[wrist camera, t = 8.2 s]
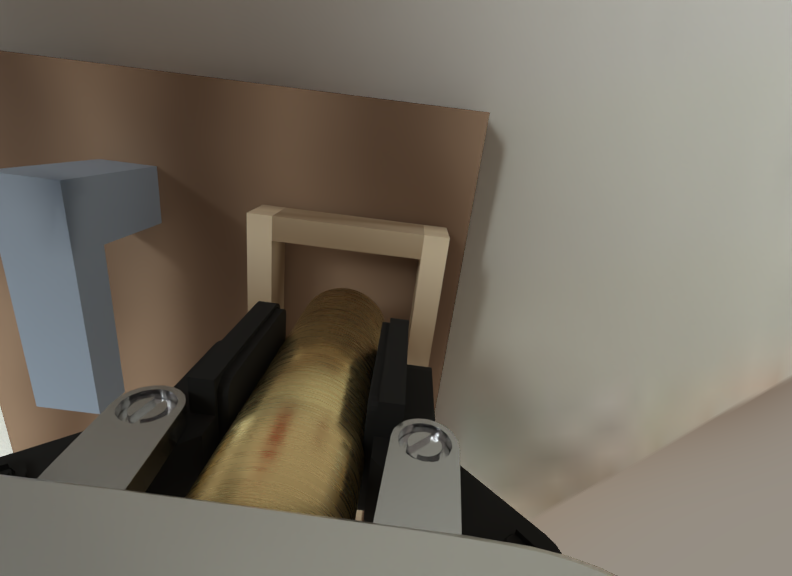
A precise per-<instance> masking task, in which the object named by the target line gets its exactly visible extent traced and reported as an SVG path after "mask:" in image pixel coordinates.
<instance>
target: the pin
mask: <svg viewBox="0 0 792 576" xmlns="http://www.w3.org/2000/svg"><path fill="white" fill-rule="evenodd" d="M382 322H385V320H384V316H383V314H382V312H381V310H380V308H379V307H378V306H377V304H376V303H375V302H374V301H373V300H372V299H371V298H369V297H368V296H366V295H365V294H363V293H361V292H359V291H356V290H353V289H348V288H335V289H330V290H327V291H324V292H322V293H320V294H318V295H317V296H316V297H314V298H313V299H312V300H311V301H310V303H309V304H308V305H307V307H306V309H305V310H304V312H303V313H302V315H301V316H300V318H299V320H298V321H297V323H296V324H295V326H294V327H293V329H292V331H291V332H290V334H289V335H288V337H287V338H286V340H285V342H284V343H283V345H282V346H281V348H280V349H279V351H278V353H277V354H276V356H275V357H274V359H273V360H272V362H271V364H270V365H269V367H268V368H267V370H266V371H265V373H264V375H263V376H262V378H261V379H260V381H259V382H258V384H257V386H256V387H255V389H254V390H253V392H252V393H251V395H250V397H249V398H248V400H247V401H246V403H245V404H244V406H243V408H242V409H241V411H240V412H239V414H238V415H237V417H236V419H235V420H234V422H233V423H232V425H231V426H230V428H229V430H228V431H227V433H226V434H225V436H224V437H223V439H222V441H221V442H220V444H219V445H218V447H217V448H216V450H215V452H214V453H213V455H212V456H211V458H210V459H209V461H208V463H207V464H206V466H205V467H204V469H203V470H202V472H201V474H200V475H199V477H198V478H197V480H196V481H195V483H194V485H193V486H192V488H191V489H190V491H189V492H188V494H187V496H186V497H185V498H192V499H200V500H208V501H215V502H223V503H231V504H238V505H246V506H254V507H261V508H269V509H276V510H284V511H292V512H299V513H306V514H314V515H321V516H328V517H336V518H343V519H350V520H355V519H356V512H357V506H358V500H359V494H360V487H361V481H362V475H363V469H364V450H363V439H364V430H365V421H366V412H367V405H368V398H369V392H370V387H371V381H372V376H373V370H374V365H375V360H376V354H377V349H378V344H379V338H380V333H381V327H382Z"/></svg>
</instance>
